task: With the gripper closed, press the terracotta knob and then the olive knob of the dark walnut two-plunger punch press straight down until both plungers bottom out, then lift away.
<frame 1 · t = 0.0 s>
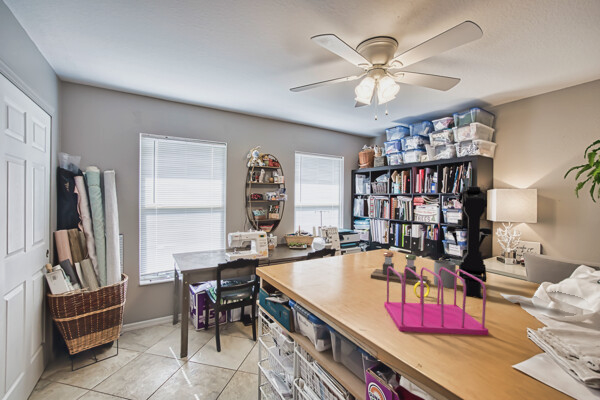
hand: (467, 246, 132), 15 cm above the table, tool pointing down, fingers open, 9 cm apart
terracotta plunger: (388, 259, 128), point 9 cm above the table, slide at 3.5 cm
glass holder: (472, 286, 118), on the table
file sorter: (430, 320, 85), on the table
olive plunger: (410, 262, 124), point 9 cm above the table, slide at 3.5 cm
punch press: (398, 278, 126), on the table
cup: (444, 285, 119), on the table
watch: (421, 297, 104), on the table
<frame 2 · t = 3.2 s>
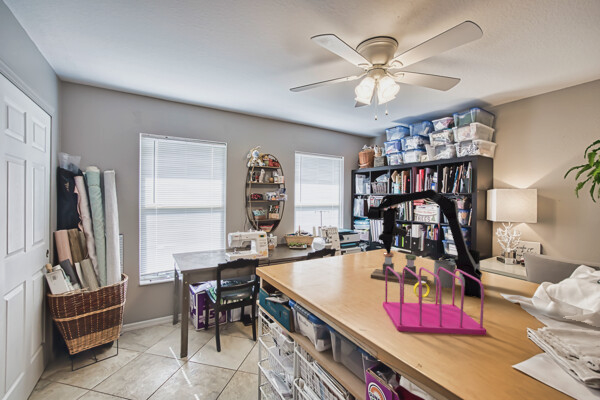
hand: (388, 253, 128), 12 cm above the table, tool pointing down, fingers closed, pressing on terracotta plunger
terracotta plunger: (388, 259, 128), point 9 cm above the table, slide at 3.4 cm, touching gripper
glass holder: (467, 285, 119), on the table
everything else where it was.
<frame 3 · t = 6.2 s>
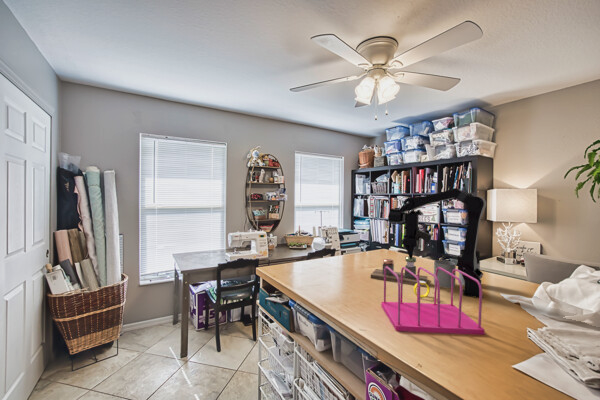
hand: (410, 257, 124), 11 cm above the table, tool pointing down, fingers closed, pressing on olive plunger
terracotta plunger: (388, 266, 129), point 5 cm above the table, slide at -0.1 cm
olive plunger: (410, 264, 124), point 8 cm above the table, slide at 2.4 cm, touching gripper
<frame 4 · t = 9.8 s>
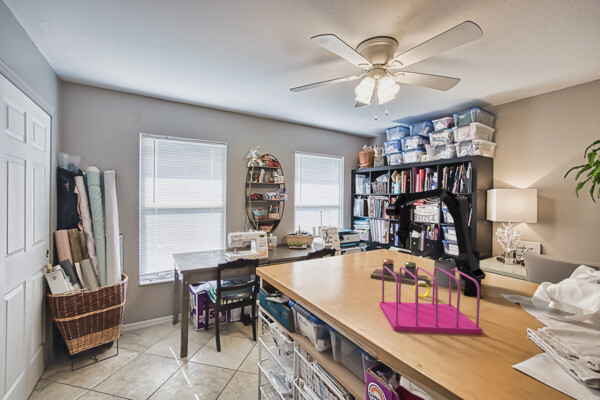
hand: (404, 248, 134), 13 cm above the table, tool pointing down, fingers closed
olive plunger: (410, 269, 124), point 5 cm above the table, slide at -0.1 cm
at the end: terracotta plunger slide at -0.1 cm; olive plunger slide at -0.1 cm; cup moved 0.3 cm from its start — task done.
